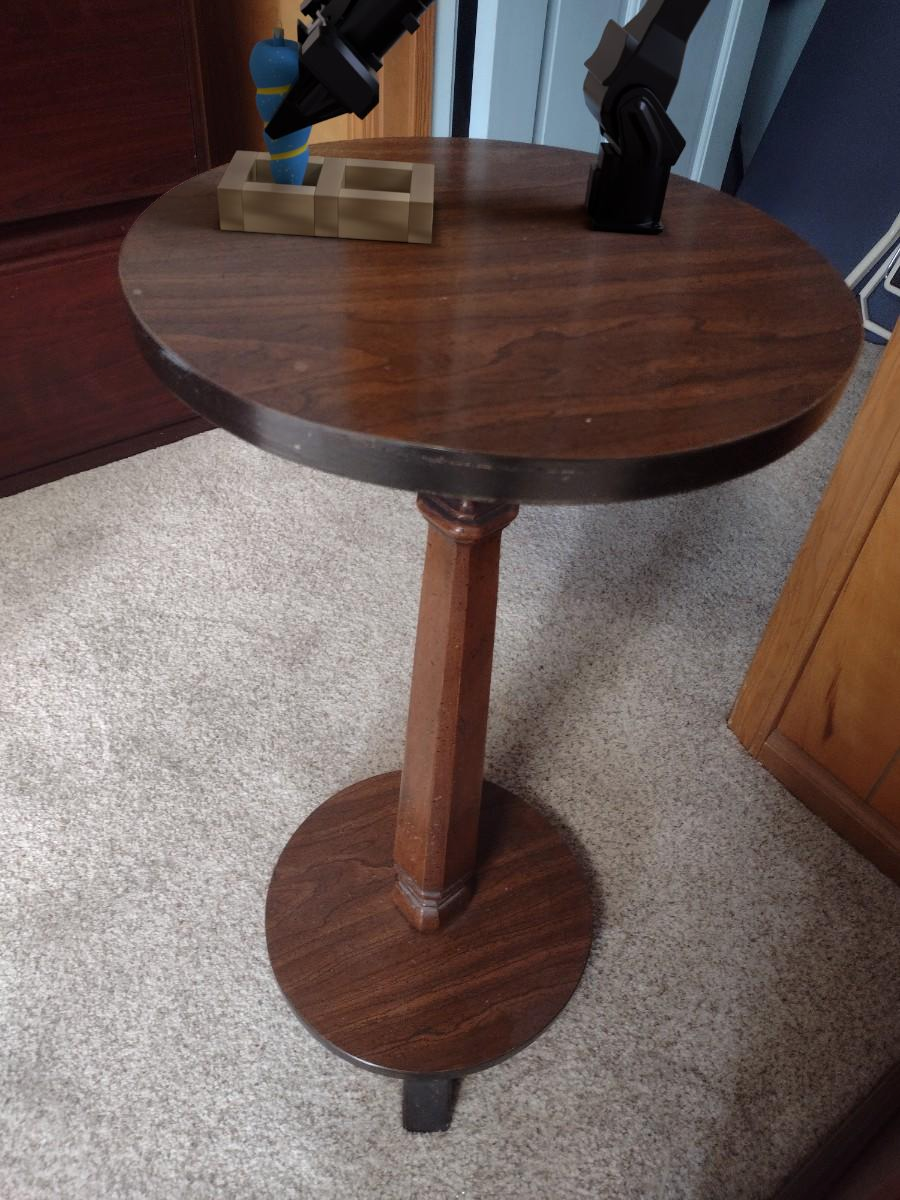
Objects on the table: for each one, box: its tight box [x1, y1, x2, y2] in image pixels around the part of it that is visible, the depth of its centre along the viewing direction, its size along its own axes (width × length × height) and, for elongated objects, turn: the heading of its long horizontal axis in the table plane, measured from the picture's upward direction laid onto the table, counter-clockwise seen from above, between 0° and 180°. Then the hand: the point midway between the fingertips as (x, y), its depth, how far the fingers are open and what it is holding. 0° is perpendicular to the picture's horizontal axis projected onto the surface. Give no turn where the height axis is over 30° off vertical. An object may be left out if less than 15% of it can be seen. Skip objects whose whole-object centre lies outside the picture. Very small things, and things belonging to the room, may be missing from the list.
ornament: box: [249, 18, 313, 186], centre depth 82 cm, size 5×5×15 cm
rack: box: [216, 150, 435, 245], centre depth 86 cm, size 18×10×4 cm, turn 90°
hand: (268, 126), depth 82 cm, fingers closed on ornament, 4 cm apart
